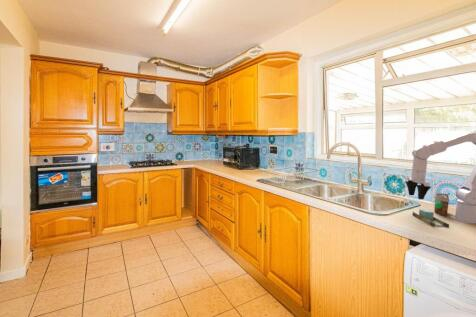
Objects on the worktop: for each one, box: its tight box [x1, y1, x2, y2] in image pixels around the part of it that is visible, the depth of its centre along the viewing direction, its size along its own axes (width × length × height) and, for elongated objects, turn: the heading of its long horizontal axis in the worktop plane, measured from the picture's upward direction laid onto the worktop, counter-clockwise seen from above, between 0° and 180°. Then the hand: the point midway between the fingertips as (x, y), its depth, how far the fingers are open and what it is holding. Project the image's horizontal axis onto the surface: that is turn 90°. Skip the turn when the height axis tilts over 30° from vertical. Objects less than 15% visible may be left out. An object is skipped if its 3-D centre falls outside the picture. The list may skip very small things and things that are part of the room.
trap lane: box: [411, 211, 450, 229], centre depth 118 cm, size 6×16×2 cm, turn 175°
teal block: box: [418, 208, 435, 220], centre depth 120 cm, size 4×4×4 cm
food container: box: [433, 192, 450, 217], centre depth 130 cm, size 12×6×10 cm, turn 141°
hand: (416, 197), depth 126 cm, fingers open, 7 cm apart
